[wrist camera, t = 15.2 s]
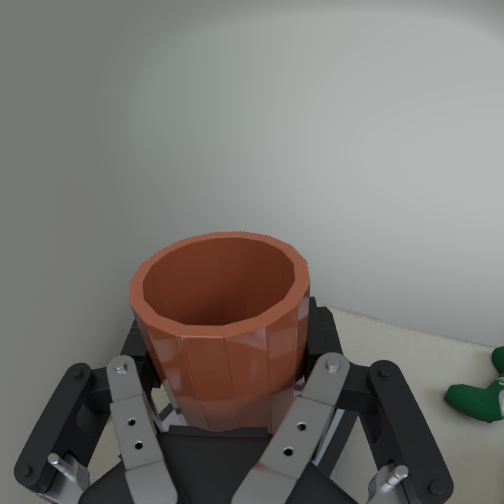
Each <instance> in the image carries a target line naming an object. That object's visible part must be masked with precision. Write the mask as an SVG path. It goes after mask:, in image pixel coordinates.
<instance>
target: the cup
mask: <svg viewBox="0 0 504 504" xmlns="http://www.w3.org/2000/svg"><path fill="white" fill-rule="evenodd" d="M309 295H310V277H309V271H308V265H307V262H306V260H305V259H304V258H303V257H302V256H301V255H300V254H299V253H298V252H297V251H296V250H295V249H294V248H293V247H292V246H291V245H289V244H287V243H284V242H282V241H280V240H277V239H275V238H273V237H271V236H267V235H261V234H255V233H249V232H241V231H240V232H215V233H209V234H204V235H200V236H195V237H191V238H187V239H184V240H181V241H179V242H177V243H174V244H172V245H170V246H167V247H165V248H163V249H162V250H159V251H158V252H157V253H155V254H154V255H153V256H151V257H150V258H149V259H148V260H146V261H145V262H144V263H142V265H141V266H140V267H139V269H138V270H137V272H136V274H135V275H134V277H133V278H132V280H131V282H130V305H131V308H132V311H133V313H134V316H135V319H136V322H137V324H138V327H139V329H140V332H141V335H142V337H143V340H144V342H145V345H146V347H147V350H148V352H149V355H150V357H151V359H152V362H153V364H154V366H155V369H156V371H157V373H158V376H159V378H160V380H161V382H162V385H163V387H164V389H165V391H166V393H167V396H168V398H169V400H170V402H171V404H172V406H173V408H174V410H175V412H176V414H177V416H178V418H179V420H180V422H181V424H182V426H194V427H197V428H201V429H204V430H208V431H212V432H223V431H228V430H233V429H238V428H242V427H267V428H268V433H270V434H275V432H276V431H277V429H278V427H279V425H280V424H281V422H282V420H283V418H284V416H285V415H286V413H287V411H288V409H289V407H290V406H291V404H292V402H293V400H294V398H295V397H296V396H297V395H300V394H301V392H302V386H303V375H304V364H305V353H306V340H307V326H308V312H309Z"/></svg>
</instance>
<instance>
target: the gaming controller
mask: <svg viewBox="0 0 504 504" xmlns="http://www.w3.org/2000/svg"><path fill="white" fill-rule="evenodd" d="M492 361H493V363H494V365H495V366H496V367H497V368H498V369H499V370H500V371H501V372H502V374H501V375H500V376H499V377H498V378H497V379H496V380H495V381H494V382H493V383H492V384H491V385H490V386H489V387H488V388H487V389H482V388H477V387H472V386H468V385H464V384H460V385H451V386H450V387H449V389H448V391H447V393H446V395H445V397H444V399H445V400H446V401H447V402H448V403H450V404H451V405H452V406H453V407H455V408H456V409H458V410H459V411H461V412H462V413H464V414H466V415H468V416H470V417H473V418H475V419H477V420H481V421H487V423H492V422H493V421H498V420H502V419H504V346H503V347H498V348H496V349H495V350H494V351H493V353H492Z"/></svg>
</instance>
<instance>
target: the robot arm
mask: <svg viewBox="0 0 504 504" xmlns="http://www.w3.org/2000/svg"><path fill="white" fill-rule="evenodd" d="M304 381H305V386H304V388H303V390H302V392H301V394H300V395H297V396H296V397H295V398H294V400H293V402H292V404H291V406H290V407H289V409H288V411H287V413H286V415H285V416H284V418H283V420H282V422H281V424H280V425H279V427H278V429H277V431H276V432H275V434H270V433H268V428H267V427H242V428H238V429H233V430H228V431H223V432H212V431H208V430H204V429H201V428H197V427H194V426H182V425H169V430H168V431H166V432H165V430H164V428H163V426H162V423H161V421H160V418H159V415H158V412H157V409H156V407H155V404H154V401H153V398H152V395H151V391H152V388H160V387H161V383H162V382H161V380H160V378H159V376H158V373H157V371H156V369H155V366H154V364H153V362H152V359H151V357H150V355H149V352H148V350H147V347H146V345H145V342H144V340H143V337H142V335H141V332H140V329H139V327H138V324H137V322H136V319H135V320H134V322H133V324H132V328H131V329H130V332H129V334H128V336H127V339H126V341H125V344H124V346H123V349H122V351H121V354H120V356H117V357H115V358H113V359H112V360H111V361H110V362H109V363H108V365H107V367H104V368H99V369H94V370H91V369H90V367H89V366H88V365H87V364H85V363H77V364H74V365H72V366H71V367H70V368H69V369H68V370H67V371H66V373H65V375H64V376H63V378H62V380H61V381H60V383H59V385H58V386H57V388H56V390H55V392H54V393H53V395H52V397H51V398H50V400H49V402H48V404H47V405H46V407H45V409H44V411H43V412H42V414H41V416H40V418H39V420H38V422H37V423H36V426H35V427H34V429H33V431H32V433H31V435H30V437H29V439H28V441H27V442H26V444H25V447H24V448H23V450H22V452H21V454H20V456H19V458H18V461H17V462H16V465H15V467H14V475H15V478H16V480H17V481H18V482H19V483H20V484H21V485H23V486H24V487H26V488H27V489H29V490H30V491H31V492H32V493H34V494H35V495H37V496H39V497H40V498H42V499H44V500H45V501H47V502H50V503H52V504H358V503H357V502H356V501H355V500H354V499H353V498H352V497H350V496H349V495H348V494H347V493H346V492H345V491H343V490H342V489H341V488H340V487H339V486H338V485H337V484H336V483H334V482H333V481H332V480H331V479H330V478H329V477H328V476H327V475H326V474H325V473H323V472H322V471H321V470H320V469H319V468H318V467H317V466H316V465H315V464H314V463H315V461H316V459H317V457H318V455H319V453H320V450H321V448H322V446H323V443H324V441H325V438H326V436H327V434H328V431H329V429H330V427H331V424H332V422H333V420H334V417H335V415H336V413H337V410H338V409H341V410H348V411H354V412H357V413H358V415H359V418H360V421H361V424H362V426H363V429H364V432H365V435H366V438H367V440H368V443H369V446H370V449H371V452H372V455H373V458H374V460H375V463H376V466H377V469H378V472H377V474H376V475H375V476H374V477H373V478H372V480H371V481H370V483H369V487H368V491H369V498H368V501H367V503H366V504H444V503H445V502H446V501H447V500H448V499H449V498H450V497H451V495H452V493H453V489H454V485H453V481H452V478H451V476H450V473H449V471H448V469H447V466H446V464H445V462H444V460H443V457H442V455H441V453H440V450H439V448H438V446H437V444H436V442H435V439H434V437H433V435H432V433H431V431H430V429H429V427H428V425H427V422H426V420H425V418H424V416H423V414H422V412H421V410H420V408H419V406H418V404H417V402H416V400H415V398H414V396H413V394H412V392H411V390H410V388H409V386H408V384H407V382H406V380H405V378H404V376H403V374H402V372H401V371H400V369H399V367H398V366H397V365H396V364H395V363H393V362H391V361H388V360H379V361H376V362H374V363H373V364H372V365H371V366H370V367H367V366H360V365H356V364H353V363H351V362H349V361H348V359H347V358H346V357H345V356H344V355H343V352H342V348H341V345H340V341H339V337H338V333H337V330H336V326H335V323H334V318H333V315H332V313H331V312H330V311H329V309H328V308H327V307H317V305H316V301H315V297H309V312H308V326H307V340H306V353H305V364H304ZM81 407H82V408H81ZM80 409H81V410H80ZM79 411H80V412H79ZM78 413H79V414H78ZM110 413H111V414H112V419H113V423H114V428H115V432H116V436H117V440H118V444H119V447H120V451H121V455H122V458H123V460H122V461H121V462H119V463H118V464H117V465H116V466H115V467H113V468H112V469H111V470H110V471H108V472H107V473H106V474H105V475H103V476H102V477H101V478H100V479H98V480H97V481H96V482H95V483H93V484H92V485H91V486H90V481H89V480H90V475H89V472H88V470H87V467H88V464H89V462H90V460H91V457H92V455H93V452H94V450H95V448H96V445H97V443H98V441H99V438H100V436H101V434H102V432H103V429H104V427H105V425H106V423H107V420H108V418H109V416H110ZM77 415H78V416H77Z"/></svg>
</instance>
